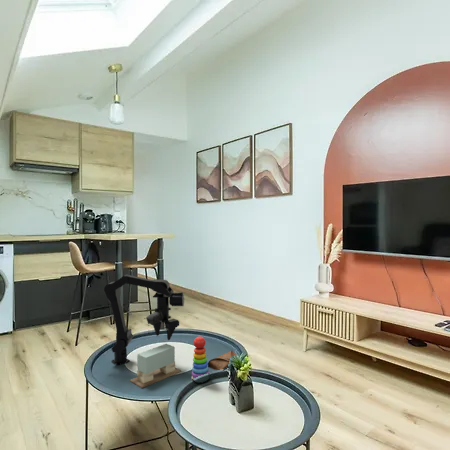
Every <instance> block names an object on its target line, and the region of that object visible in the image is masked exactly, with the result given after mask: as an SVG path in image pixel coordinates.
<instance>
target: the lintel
mask: <svg viewBox="0 0 450 450" xmlns="http://www.w3.org/2000/svg"><path fill="white" fill-rule="evenodd" d="M175 349H176V348H175V346H174V345H171V344H168V343H164V344H162V345H159V346H156V347H153V348H151V349H148V350H145V351H142V352H140V353H137V356H136V357H137V365H136V366H137V369H136V371H137V370H138V371H140V372H142V373H144V374H148V373H150V372H152V371H155V370H157V369H159V368H162V367H164V366H166V365H169V364H171V363H173V362H175V363H176V359H175V357H176V356H175V355H176V354H175V353H176V351H175Z"/></svg>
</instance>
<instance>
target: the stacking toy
mask: <svg viewBox="0 0 450 450" xmlns="http://www.w3.org/2000/svg"><path fill="white" fill-rule="evenodd" d="M193 345H194V347H195V348H194V349H193V351H194V353H193V359H192V360H193V362H192V371H191V380H192V379H194V378H196V377H198V376H201V375H204V374H207V373H209V374H210V371H209V367H208V362H209V361H208V358H207V352H206V350H207V349H206V348H205V346H206V339H205V338H204V337H203V336H197V337H195V338H194V340H193Z"/></svg>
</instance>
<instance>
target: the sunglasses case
mask: <svg viewBox="0 0 450 450" xmlns="http://www.w3.org/2000/svg"><path fill="white" fill-rule="evenodd" d="M234 355H237V354H236V353H235V352H234V351H233V350H230V351H228V352H226V353H223V354H222V355H218V356H217V357H214V358H211V359H210V360H209V361H207V362H208V365H207V366H208V369H212V370H215V371H217V370H220V369H224V368H226V367H228V364H229V360H230V358H231V357H232V356H234ZM228 368H229V367H228ZM226 369H227V368H226ZM224 370H225V369H224Z"/></svg>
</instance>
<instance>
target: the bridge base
mask: <svg viewBox="0 0 450 450" xmlns="http://www.w3.org/2000/svg"><path fill="white" fill-rule="evenodd" d="M180 372H182V370H181V369H180V368H177V367H176V361H175V362H173V363H171V364H169V365H166V366H164V367H162V368H159V369H157V370H155V371H152V372H150V373H148V374H144V373H142V372H140V371H138V370H137V369H136V377H135V378H132V379H129V380H130V382H131V383H133V384H134V385H136V386H137V387H139V388H140V389H143V388H146V387H149V386H151V385H153V384H155V383H157V382H160V381H163V380H164V379H167V378H170V377H171V376H174V375H176V374H178V373H180Z"/></svg>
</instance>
